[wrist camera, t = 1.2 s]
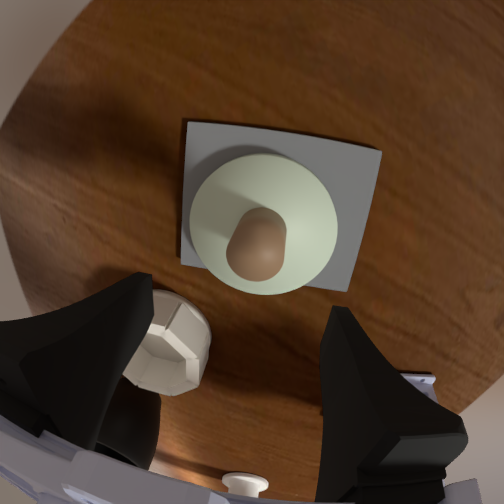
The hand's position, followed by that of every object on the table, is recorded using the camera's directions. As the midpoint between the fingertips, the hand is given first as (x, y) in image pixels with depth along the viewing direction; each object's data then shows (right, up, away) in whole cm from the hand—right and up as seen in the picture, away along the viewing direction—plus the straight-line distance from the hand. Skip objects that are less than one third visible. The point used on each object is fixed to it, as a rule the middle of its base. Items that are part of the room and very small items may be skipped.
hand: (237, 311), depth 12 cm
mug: (-13, -15, +20) cm, 29 cm away
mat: (+2, +5, +8) cm, 10 cm away
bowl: (-7, -4, +14) cm, 16 cm away
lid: (+1, +4, +8) cm, 9 cm away
